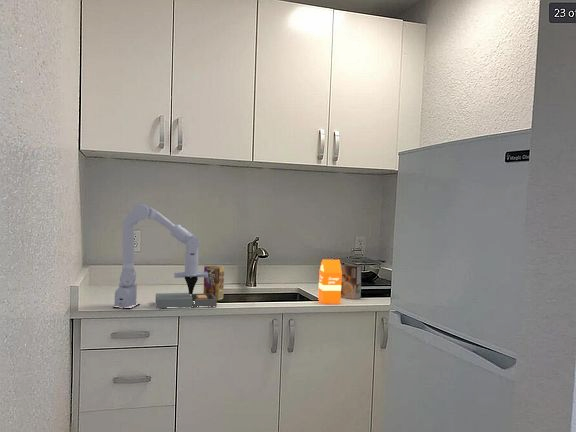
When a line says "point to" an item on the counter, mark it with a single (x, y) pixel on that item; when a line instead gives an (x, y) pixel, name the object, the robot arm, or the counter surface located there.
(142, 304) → the counter surface
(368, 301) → the counter surface
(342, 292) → the coffee box
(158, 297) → the slate board
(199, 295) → the orange block
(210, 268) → the candy box
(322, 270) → the orange juice
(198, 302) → the tray
